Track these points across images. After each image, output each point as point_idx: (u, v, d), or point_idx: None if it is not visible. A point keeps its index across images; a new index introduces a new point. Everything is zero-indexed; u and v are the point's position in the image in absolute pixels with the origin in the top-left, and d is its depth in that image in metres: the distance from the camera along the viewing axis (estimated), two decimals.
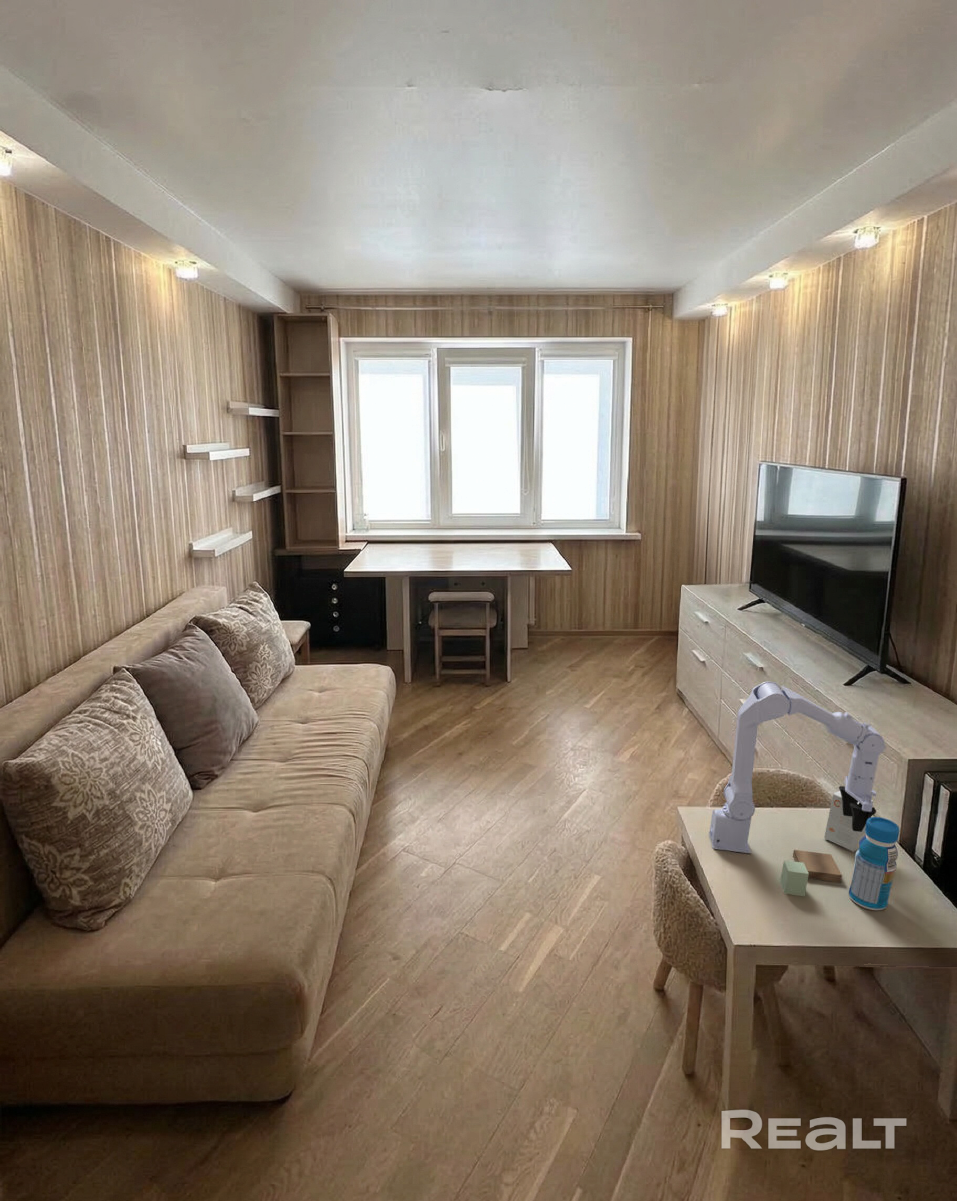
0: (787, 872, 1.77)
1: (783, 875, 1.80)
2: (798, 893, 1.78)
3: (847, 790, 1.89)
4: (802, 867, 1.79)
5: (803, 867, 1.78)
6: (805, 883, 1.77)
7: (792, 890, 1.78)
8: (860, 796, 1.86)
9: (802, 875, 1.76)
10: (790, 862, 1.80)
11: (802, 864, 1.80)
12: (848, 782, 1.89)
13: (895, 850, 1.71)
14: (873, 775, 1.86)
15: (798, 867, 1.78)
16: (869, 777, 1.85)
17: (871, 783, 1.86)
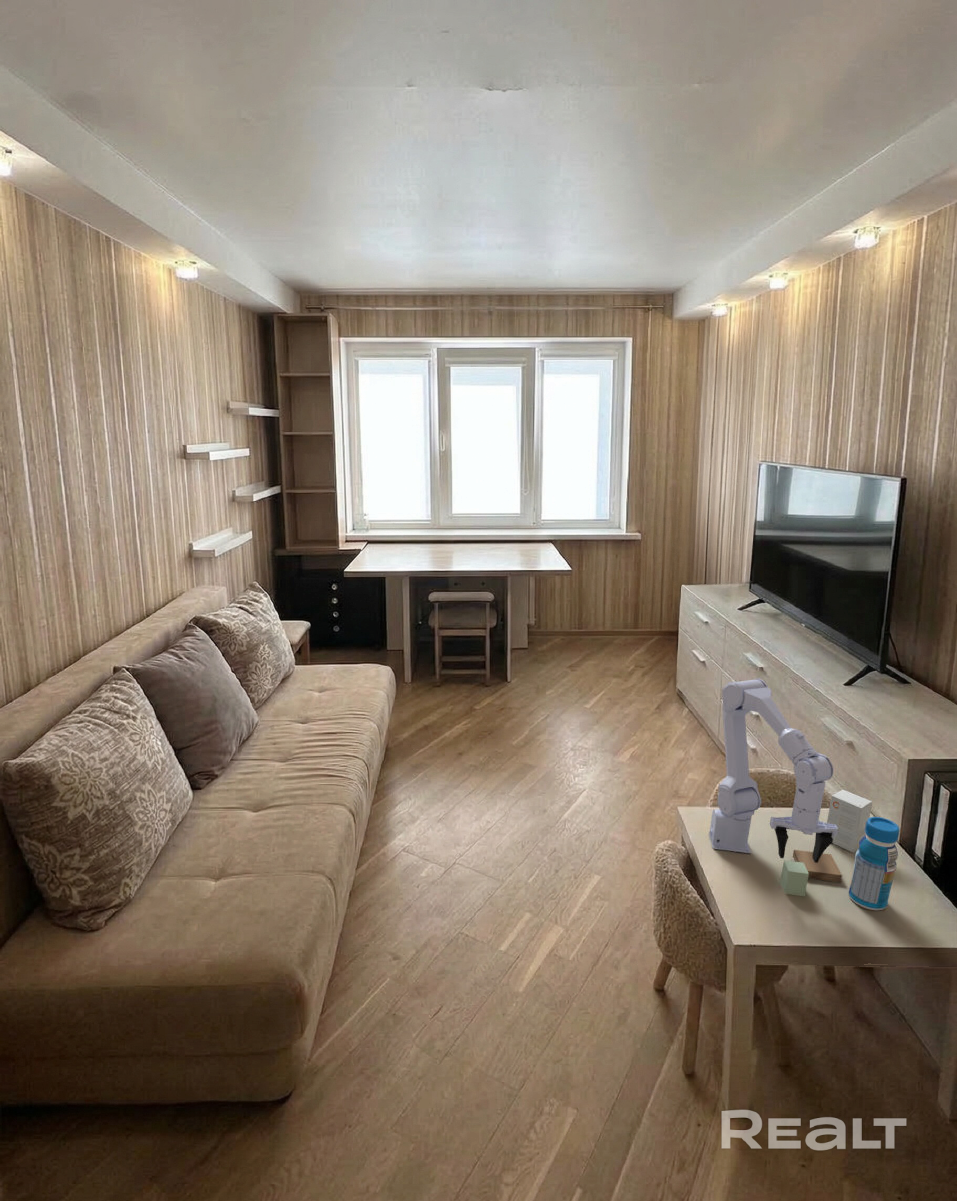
0: (787, 872, 1.77)
1: (783, 875, 1.80)
2: (798, 893, 1.78)
3: None
4: (802, 867, 1.79)
5: (803, 867, 1.78)
6: (805, 883, 1.77)
7: (792, 890, 1.78)
8: (789, 821, 1.77)
9: (802, 875, 1.76)
10: (790, 862, 1.80)
11: (802, 864, 1.80)
12: None
13: (895, 850, 1.71)
14: (807, 807, 1.72)
15: (798, 867, 1.78)
16: (801, 807, 1.73)
17: (798, 813, 1.74)
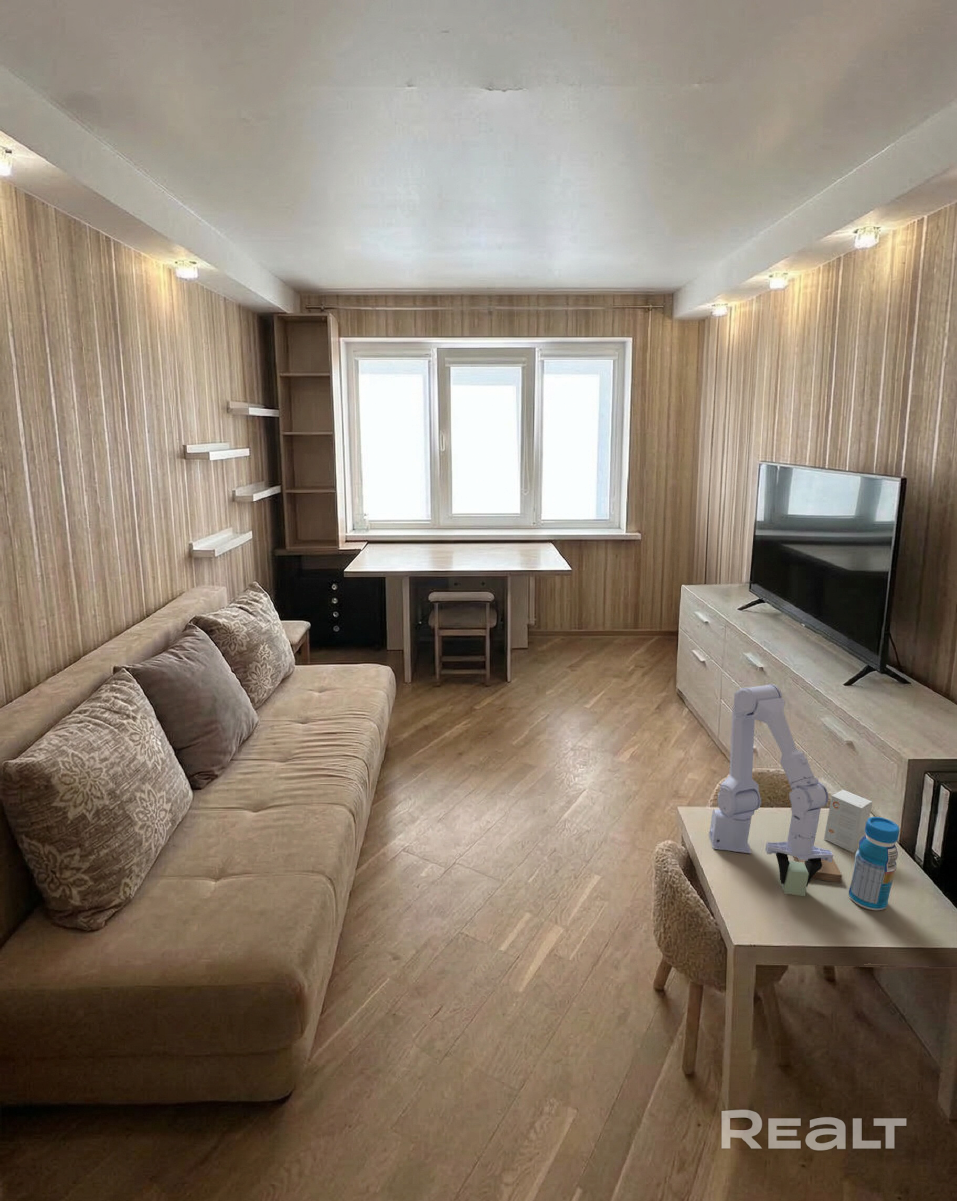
0: (787, 872, 1.77)
1: None
2: (798, 893, 1.78)
3: None
4: (802, 867, 1.79)
5: (803, 867, 1.78)
6: (805, 883, 1.77)
7: (792, 890, 1.78)
8: (785, 846, 1.78)
9: (802, 875, 1.76)
10: (790, 862, 1.80)
11: (802, 864, 1.80)
12: None
13: (895, 850, 1.71)
14: (802, 834, 1.74)
15: (798, 867, 1.78)
16: (796, 833, 1.74)
17: (793, 839, 1.75)
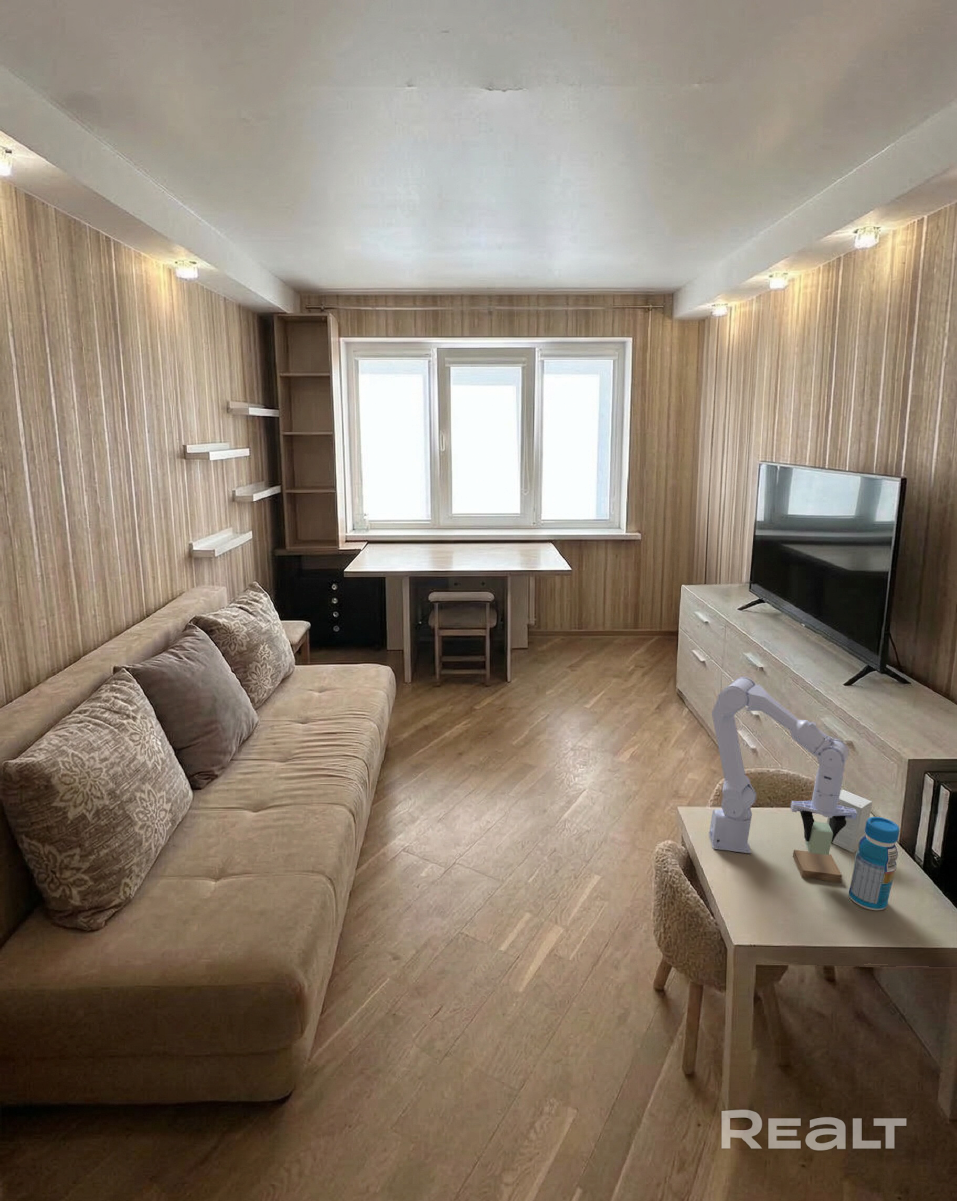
0: (812, 831, 1.82)
1: None
2: (822, 852, 1.82)
3: None
4: (827, 827, 1.83)
5: (828, 827, 1.83)
6: (829, 842, 1.82)
7: (816, 849, 1.83)
8: (809, 804, 1.83)
9: (827, 834, 1.81)
10: (815, 822, 1.85)
11: (827, 824, 1.84)
12: None
13: (895, 850, 1.71)
14: (834, 792, 1.78)
15: (822, 827, 1.83)
16: (828, 793, 1.79)
17: (818, 797, 1.80)
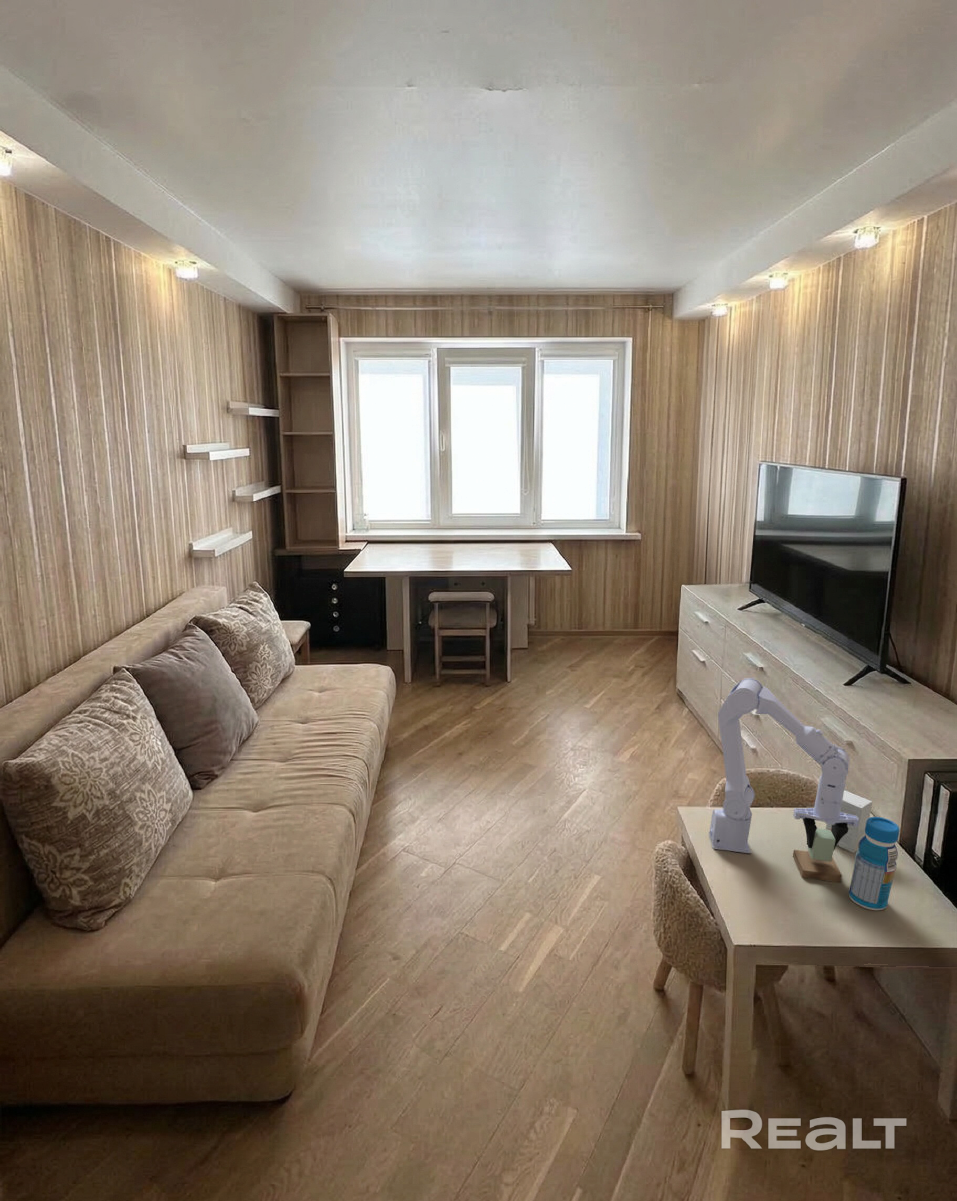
0: (814, 838, 1.85)
1: None
2: (825, 858, 1.85)
3: None
4: (829, 834, 1.86)
5: (830, 834, 1.86)
6: (832, 849, 1.84)
7: (819, 856, 1.85)
8: (812, 812, 1.86)
9: (829, 841, 1.84)
10: (817, 829, 1.87)
11: (829, 831, 1.87)
12: None
13: (895, 850, 1.71)
14: (837, 800, 1.81)
15: (825, 834, 1.85)
16: (832, 801, 1.81)
17: (820, 804, 1.83)
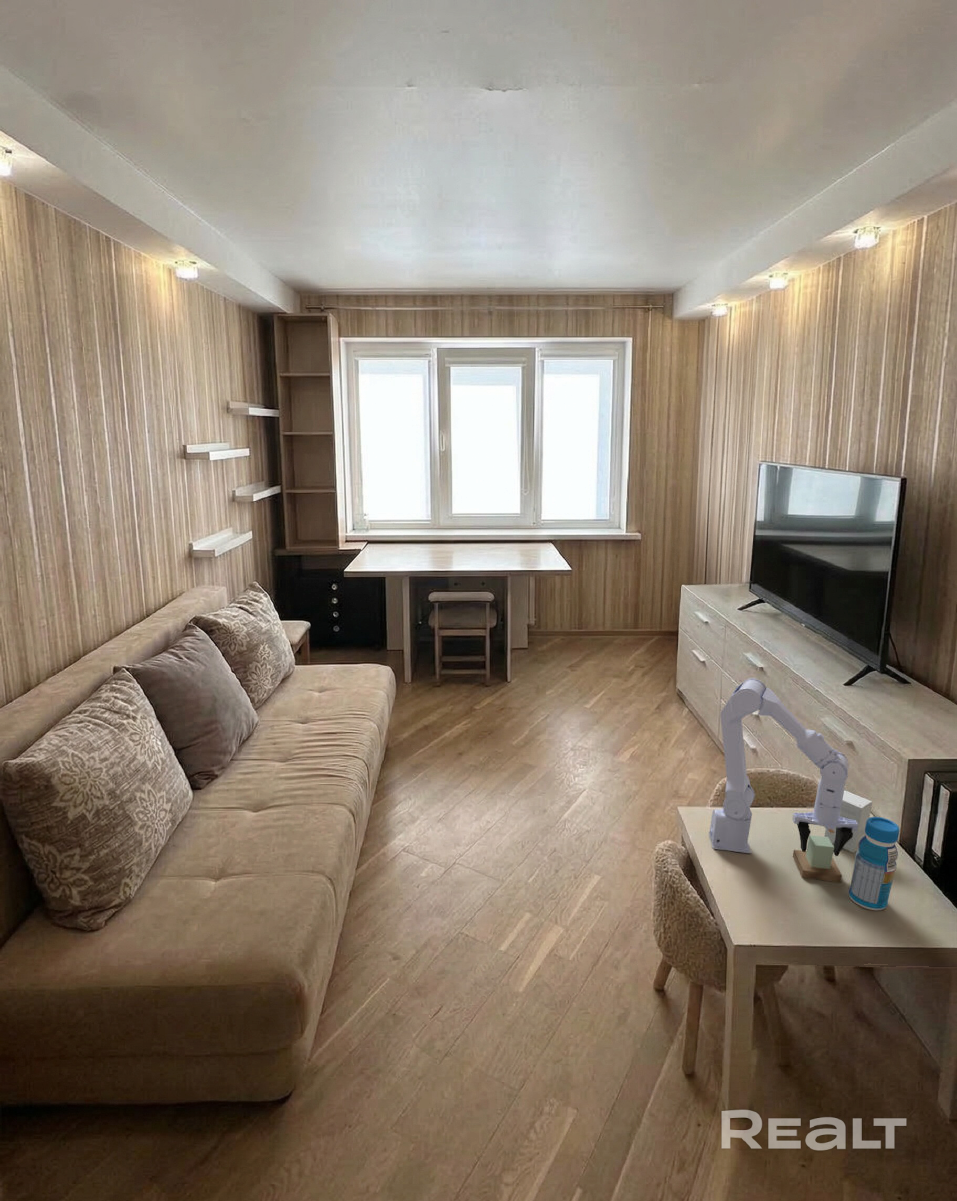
0: (813, 846, 1.85)
1: (809, 849, 1.88)
2: (824, 866, 1.85)
3: None
4: (828, 841, 1.86)
5: (828, 841, 1.86)
6: (831, 856, 1.85)
7: (818, 863, 1.85)
8: None
9: (828, 848, 1.84)
10: (815, 837, 1.88)
11: (827, 838, 1.88)
12: None
13: (895, 850, 1.71)
14: (836, 804, 1.81)
15: (823, 842, 1.86)
16: (831, 805, 1.81)
17: (820, 809, 1.83)
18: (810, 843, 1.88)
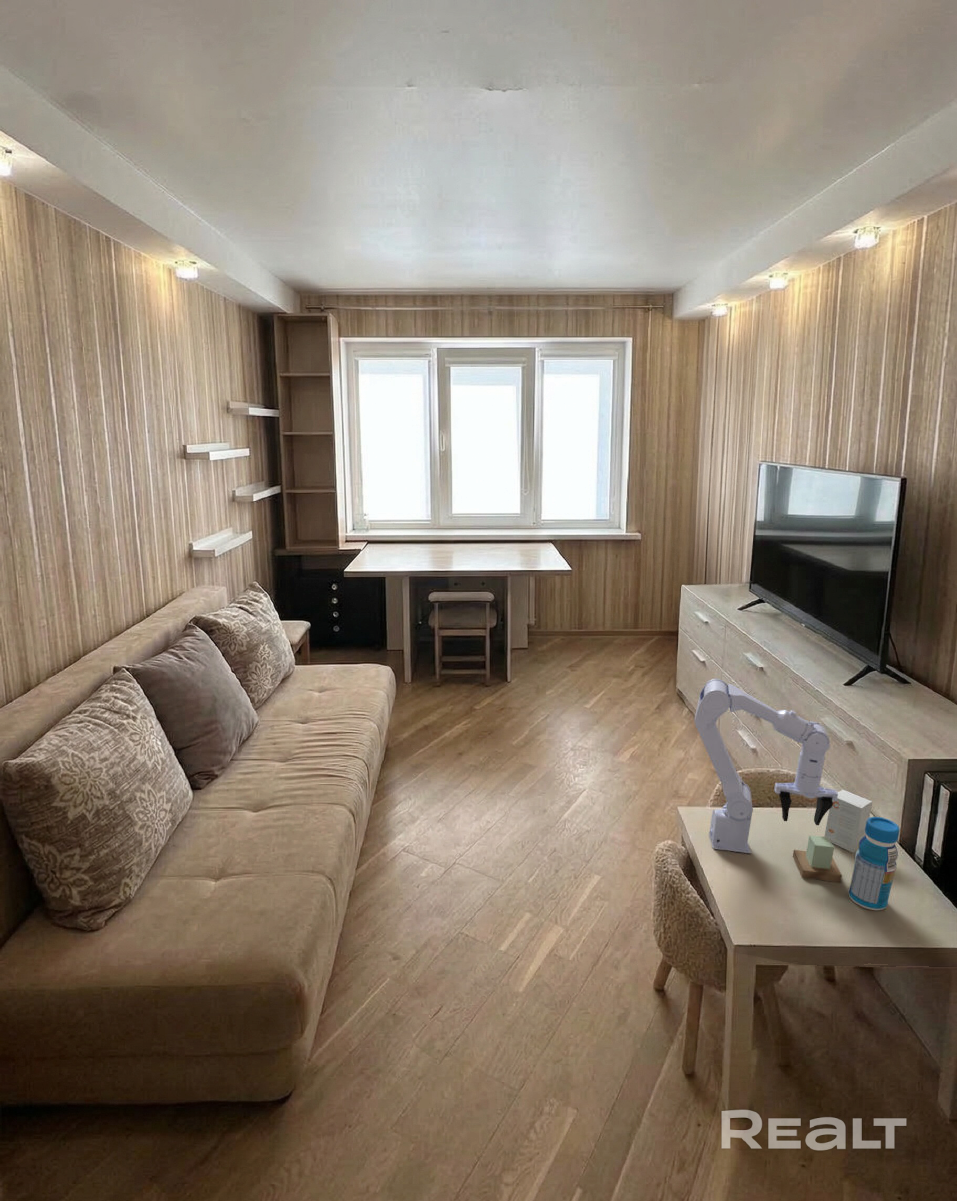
0: (813, 846, 1.85)
1: (809, 849, 1.88)
2: (824, 866, 1.85)
3: None
4: (828, 841, 1.86)
5: (828, 841, 1.86)
6: (831, 856, 1.85)
7: (818, 863, 1.85)
8: None
9: (828, 848, 1.84)
10: (815, 837, 1.88)
11: (827, 838, 1.88)
12: None
13: (895, 850, 1.71)
14: (819, 774, 1.85)
15: (823, 842, 1.86)
16: (814, 775, 1.85)
17: (800, 778, 1.87)
18: (810, 843, 1.88)
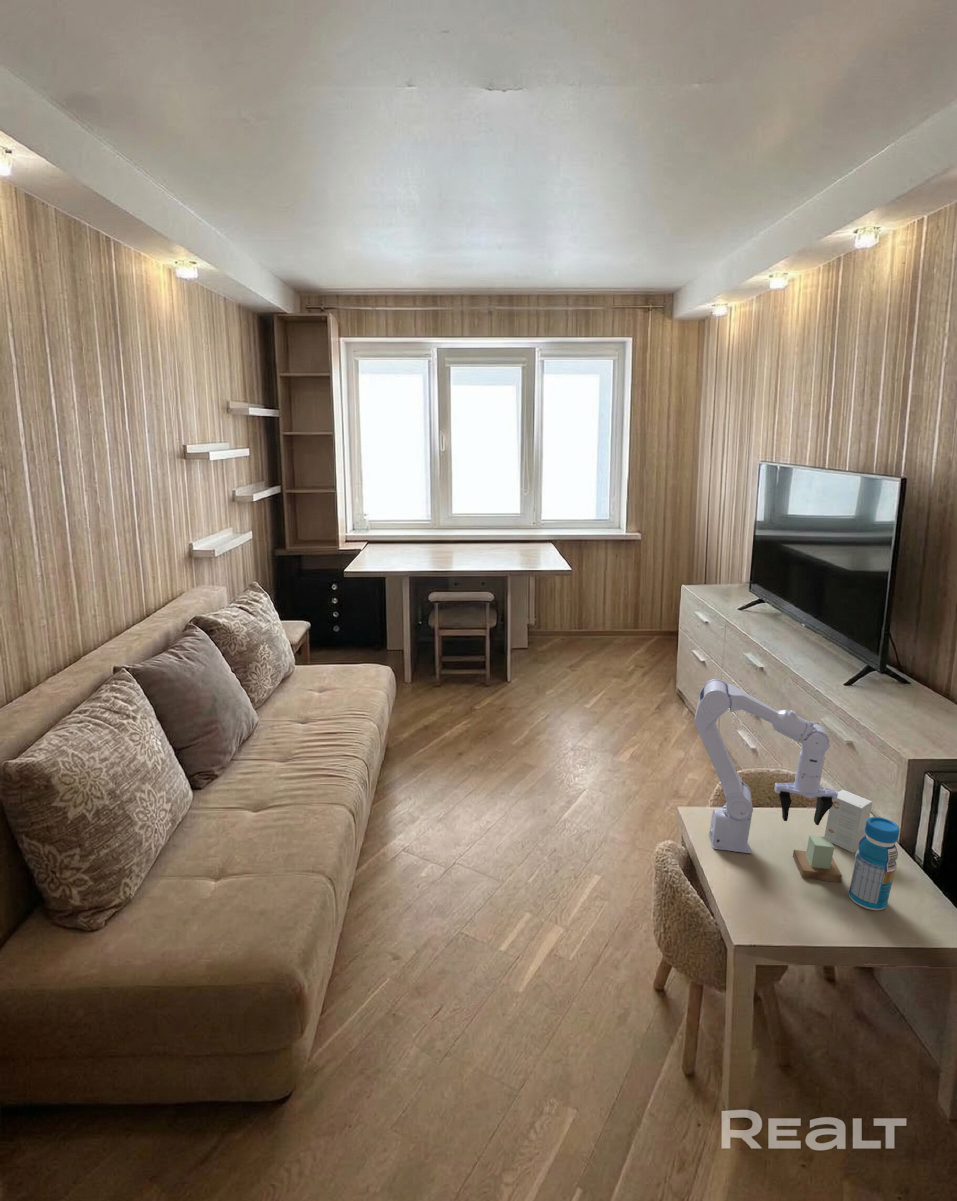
0: (813, 846, 1.85)
1: (809, 849, 1.88)
2: (824, 866, 1.85)
3: None
4: (828, 841, 1.86)
5: (828, 841, 1.86)
6: (831, 856, 1.85)
7: (818, 863, 1.85)
8: (792, 786, 1.90)
9: (828, 848, 1.84)
10: (815, 837, 1.88)
11: (827, 838, 1.88)
12: None
13: (895, 850, 1.71)
14: (819, 773, 1.85)
15: (823, 842, 1.86)
16: (814, 775, 1.85)
17: (800, 778, 1.87)
18: (810, 843, 1.88)
